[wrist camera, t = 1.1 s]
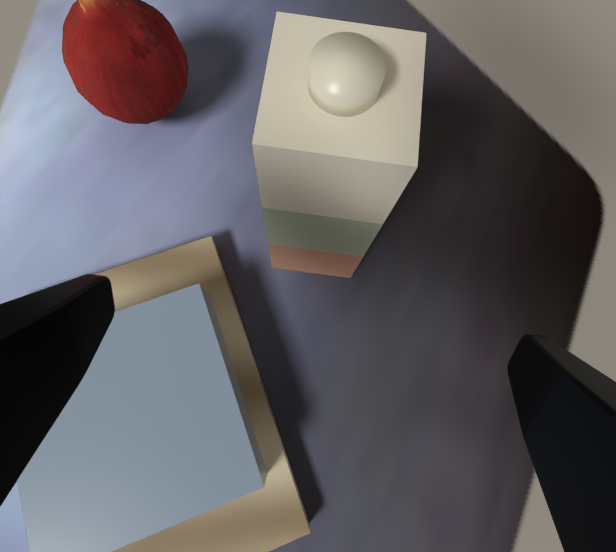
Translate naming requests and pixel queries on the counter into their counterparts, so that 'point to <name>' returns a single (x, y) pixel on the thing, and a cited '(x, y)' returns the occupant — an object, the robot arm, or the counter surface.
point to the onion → (124, 59)
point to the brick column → (335, 137)
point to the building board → (280, 481)
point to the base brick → (144, 433)
